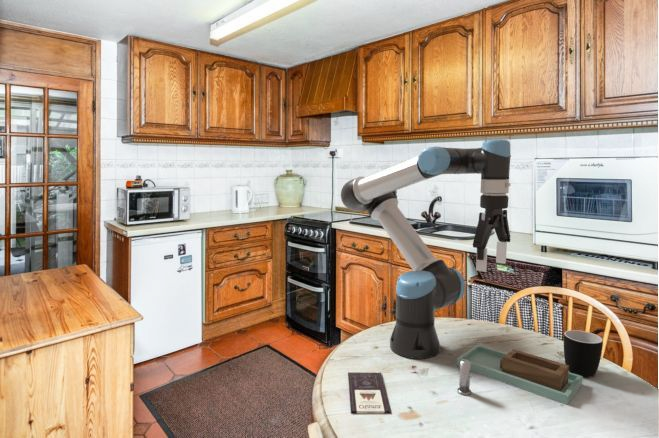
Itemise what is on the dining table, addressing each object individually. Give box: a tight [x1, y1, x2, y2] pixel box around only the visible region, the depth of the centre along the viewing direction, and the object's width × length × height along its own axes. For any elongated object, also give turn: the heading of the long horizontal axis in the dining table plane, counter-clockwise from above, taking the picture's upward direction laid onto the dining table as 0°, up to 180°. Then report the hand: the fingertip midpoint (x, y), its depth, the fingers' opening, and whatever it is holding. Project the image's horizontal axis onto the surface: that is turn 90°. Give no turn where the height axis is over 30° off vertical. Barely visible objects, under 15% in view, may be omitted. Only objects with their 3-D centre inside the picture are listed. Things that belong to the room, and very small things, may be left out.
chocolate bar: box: [347, 371, 391, 414], centre depth 102 cm, size 9×1×18 cm
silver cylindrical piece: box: [457, 359, 472, 396], centre depth 101 cm, size 3×3×8 cm
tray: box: [456, 343, 584, 406], centre depth 110 cm, size 28×13×2 cm, turn 45°
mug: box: [563, 329, 604, 378], centre depth 112 cm, size 12×9×10 cm
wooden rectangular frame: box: [500, 348, 569, 392], centre depth 107 cm, size 7×16×4 cm, turn 45°
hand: (491, 266), depth 120 cm, fingers open, 13 cm apart
